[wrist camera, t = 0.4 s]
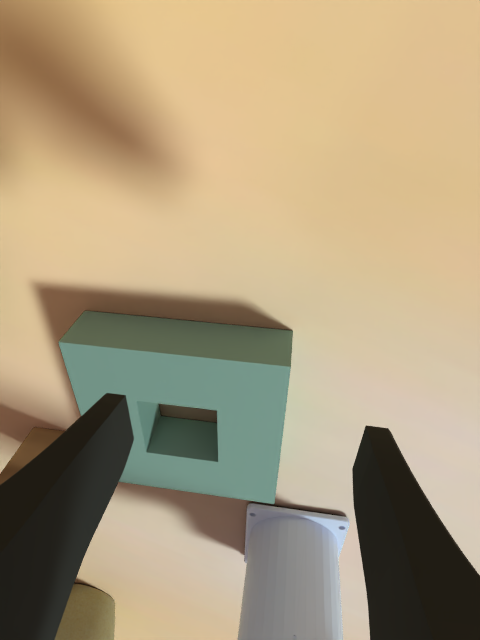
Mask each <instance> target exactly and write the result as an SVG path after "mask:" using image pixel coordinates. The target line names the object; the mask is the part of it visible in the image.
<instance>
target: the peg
mask: <svg viewBox="0 0 480 640" xmlns="http://www.w3.org/2000/svg"><path fill="white" fill-rule="evenodd" d="M64 432H65V431H60V430H53V429H45V428H37V427H34V428H33V429H32V431H31V432H30V433H29V435H28V436H27V437H26V439H25V440H24V442H23V443H22V444H21V446H20V447H19V449H18V450H17V451H16V453H15V454H14V456H13V457H12V458H11V460H10V461H9V462H8V464H7V465H6V467H5V468H4V469H3V471H2V472H1V474H0V485H1V484H2V483H3V482H5V481H6V480H7V479H9V478H10V477H11V476H13V475H14V474H15V473H16V472H18V471H19V470H20V469H21V468H23V467H24V466H25V465H26V464H27V463H29V462H30V461H31V460H32V459H34V458H35V457H36V456H37V455H38V454H40V453H41V452H42V451H43V450H44V449H46V448H47V447H48V446H49V445H50V444H51V443H52V442H54V441H55V440H56V439H57V438H58V437H59V436H60V435H61V434H63V433H64Z"/></svg>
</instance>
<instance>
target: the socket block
mask: <svg viewBox="0 0 480 640" xmlns="http://www.w3.org/2000/svg"><path fill="white" fill-rule="evenodd" d="M292 335H293V331H290V330H280V329H270V328H259V327H249V326H239V325H228V324H218V323H208V322H198V321H187V320H177V319H167V318H156V317H146V316H136V315H125V314H115V313H105V312H94V311H84V312H83V313H82V315H81V316H80V317H79V318H78V319H77V320H76V322H75V323H74V324H73V325H72V326H71V328H70V329H69V330H68V331H67V332H66V333H65V335H64V336H63V337H62V338H61V339H60V341H59V342H58V343H59V346H60V349H61V353H62V356H63V359H64V362H65V366H66V369H67V372H68V375H69V378H70V382H71V385H72V388H73V391H74V394H75V398H76V401H77V404H78V407H79V411H80V414H81V416H82V415H83V414H84V413H85V412H86V411H88V410H89V409H90V408H91V407H92V406H93V405H94V404H95V403H96V402H97V401H98V400H99V399H100V398H101V397H102V396H104V395H105V394H106V393H112V394H120V395H126V399H127V404H128V409H129V415H130V420H131V425H132V430H133V435H134V441H133V444H132V447H131V450H130V454H129V457H128V460H127V462H126V465H125V468H124V471H123V473H122V475H121V478H120V480H119V482H124V483H131V484H138V485H145V486H152V487H159V488H166V489H173V490H180V491H187V492H194V493H201V494H208V495H214V496H221V497H228V498H235V499H242V500H249V501H256V502H263V503H270V504H274V503H275V495H276V486H277V478H278V469H279V461H280V453H281V444H282V436H283V427H284V419H285V411H286V402H287V394H288V385H289V377H290V369H291V353H292ZM159 404H168V405H176V406H184V407H193V408H201V409H209V410H217V423H213V422H205V421H197V420H189V419H181V418H173V417H165V416H161V415H160V408H159Z"/></svg>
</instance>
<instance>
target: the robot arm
mask: <svg viewBox="0 0 480 640" xmlns="http://www.w3.org/2000/svg"><path fill="white" fill-rule="evenodd" d="M133 441H134V435H133V430H132V425H131V420H130V415H129V409H128V404H127V399H126V395H120V394H112V393H106V394H105V395H104V396H102V397H101V398H100V399H99V400H98V401H97V402H96V403H95V404H94V405H93V406H92V407H91V408H90V409H89V410H88V411H86V412H85V413H84V414H83V415H82V416H81V417H80V418H79V419H78V420H77V421H76V422H75V423H74V424H72V425H71V426H70V427H69V428H68V429H67V430H66V431H65V432H64V433H63V434H61V435H60V436H59V437H58V438H57V439H56V440H55V441H54V442H52V443H51V444H50V445H49V446H48V447H47V448H46V449H44V450H43V451H42V452H41V453H40V454H38V455H37V456H36V457H35V458H34V459H32V460H31V461H30V462H29V463H27V464H26V465H25V466H24V467H23V468H21V469H20V470H19V471H18V472H16V473H15V474H14V475H13V476H11V477H10V478H9V479H7V480H6V481H5V482H3V483H2V484H1V485H0V640H55V637H56V634H57V631H58V628H59V625H60V622H61V619H62V616H63V613H64V611H65V608H66V605H67V602H68V599H69V596H70V593H71V590H72V588H73V585H74V582H75V580H76V577H77V574H78V571H79V569H80V566H81V563H82V560H83V558H84V555H85V553H86V551H87V548H88V546H89V544H90V541H91V539H92V537H93V535H94V533H95V531H96V529H97V527H98V524H99V522H100V520H101V518H102V516H103V514H104V512H105V510H106V508H107V505H108V503H109V501H110V499H111V497H112V495H113V493H114V491H115V488H116V486H117V484H118V482H119V480H120V478H121V475H122V473H123V471H124V468H125V465H126V462H127V460H128V457H129V454H130V450H131V447H132V444H133ZM353 497H354V509H355V516H356V523H357V530H358V537H359V543H360V550H361V557H362V563H363V570H364V577H365V583H366V591H367V600H368V610H369V626H370V640H480V575H479V574H478V573H477V571H476V570H475V569H474V567H473V566H472V565H471V563H470V562H469V561H468V559H467V558H466V557H465V555H464V554H463V552H462V551H461V549H460V548H459V547H458V545H457V544H456V542H455V541H454V539H453V538H452V536H451V535H450V533H449V532H448V530H447V529H446V527H445V526H444V524H443V523H442V521H441V520H440V518H439V517H438V515H437V514H436V512H435V510H434V509H433V507H432V506H431V504H430V502H429V501H428V499H427V497H426V496H425V494H424V492H423V491H422V489H421V487H420V486H419V484H418V482H417V481H416V479H415V477H414V475H413V474H412V472H411V470H410V468H409V466H408V464H407V463H406V461H405V459H404V457H403V455H402V453H401V451H400V449H399V448H398V446H397V444H396V442H395V440H394V438H393V436H392V434H391V432H390V430H389V429H388V428H380V427H373V426H366V427H365V430H364V434H363V437H362V440H361V443H360V447H359V450H358V453H357V456H356V459H355V463H354V466H353ZM349 525H350V524H349V519H348V518H347V517H343V516H337V515H330V514H323V513H316V512H309V511H302V510H295V509H288V508H281V507H274V506H267V505H261V504H253V503H251V504H249V505H248V506H247V516H246V537H245V557H244V561H245V563H247V566H246V574H245V582H244V591H243V599H242V607H241V616H240V624H239V632H238V640H343V626H342V609H341V591H340V574H339V555H340V552H341V549H342V546H343V543H344V540H345V537H346V534H347V531H348V528H349Z"/></svg>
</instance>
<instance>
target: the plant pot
mask: <svg viewBox="0 0 480 640" xmlns="http://www.w3.org/2000/svg"><path fill="white" fill-rule="evenodd" d="M114 628H115V602H114V600H113V599H112V598H111V597H110V596H109V595H107V594H106V593H104V592H102V591H100V590H98V589H96V588H93V587H90V586H86V585H81V584H74V585H73V588H72V590H71V593H70V596H69V599H68V602H67V605H66V608H65V611H64V613H63V616H62V619H61V622H60V625H59V628H58V631H57V634H56V637H55V640H114Z"/></svg>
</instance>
